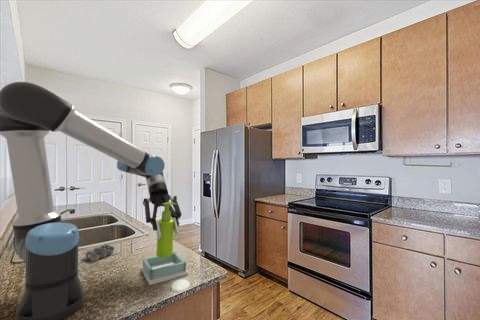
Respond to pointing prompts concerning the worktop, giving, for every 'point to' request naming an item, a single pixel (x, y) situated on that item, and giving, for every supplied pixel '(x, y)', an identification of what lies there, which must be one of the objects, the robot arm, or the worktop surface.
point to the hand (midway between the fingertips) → (168, 235)
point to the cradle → (163, 268)
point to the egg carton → (99, 252)
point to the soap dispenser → (165, 233)
